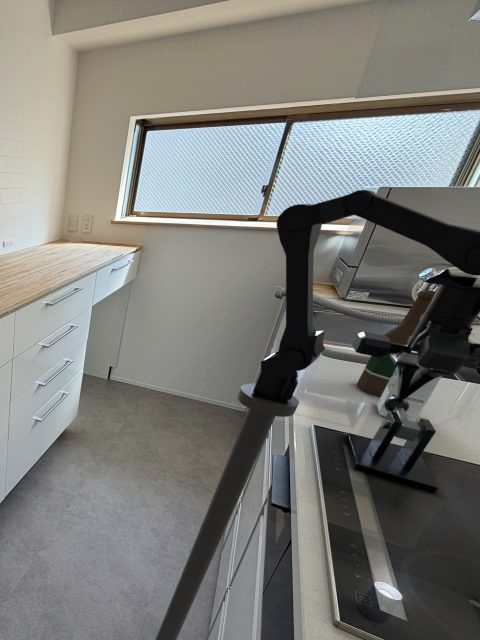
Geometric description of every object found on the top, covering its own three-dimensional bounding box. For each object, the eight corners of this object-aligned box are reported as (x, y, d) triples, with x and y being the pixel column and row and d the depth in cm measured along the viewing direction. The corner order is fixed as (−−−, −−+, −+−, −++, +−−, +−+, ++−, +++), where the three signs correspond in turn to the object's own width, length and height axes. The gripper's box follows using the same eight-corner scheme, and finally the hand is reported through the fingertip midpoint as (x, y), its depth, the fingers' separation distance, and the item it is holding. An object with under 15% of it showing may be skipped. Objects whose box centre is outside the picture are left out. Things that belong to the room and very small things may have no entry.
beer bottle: (355, 380, 103) (404, 285, 93) (396, 390, 99) (454, 292, 88) (356, 391, 98) (408, 291, 87) (400, 402, 94) (461, 298, 83)
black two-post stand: (345, 437, 79) (366, 397, 75) (415, 457, 74) (442, 415, 70) (353, 469, 70) (378, 425, 66) (434, 493, 65) (466, 448, 61)
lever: (379, 406, 78) (388, 391, 77) (402, 411, 77) (411, 397, 75) (390, 438, 70) (400, 422, 68) (415, 444, 68) (426, 429, 66)
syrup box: (414, 424, 85) (454, 360, 78) (376, 414, 88) (412, 352, 81) (409, 413, 89) (447, 351, 82) (374, 404, 92) (407, 344, 85)
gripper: (384, 314, 66) (340, 399, 73) (561, 342, 57) (492, 435, 64) (372, 300, 75) (334, 377, 82) (525, 322, 65) (467, 407, 72)
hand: (400, 398), depth 75 cm, fingers closed
